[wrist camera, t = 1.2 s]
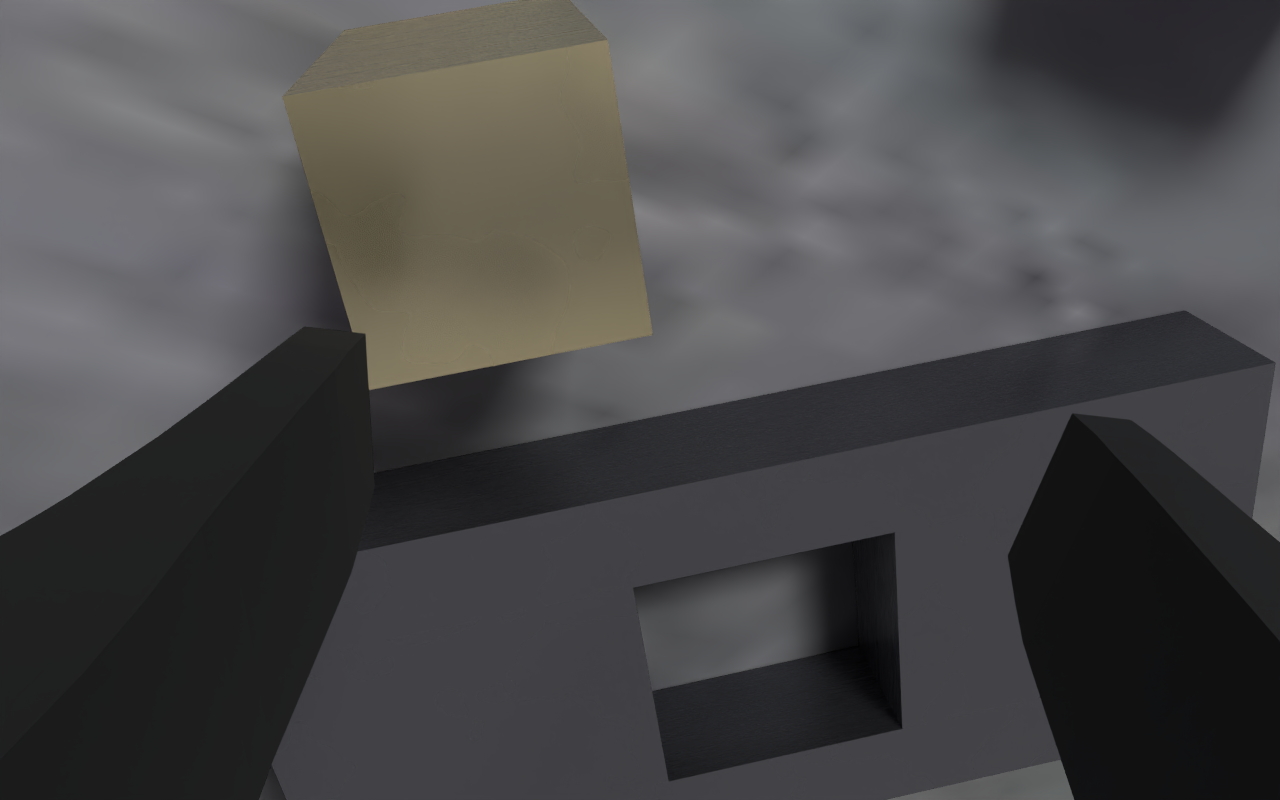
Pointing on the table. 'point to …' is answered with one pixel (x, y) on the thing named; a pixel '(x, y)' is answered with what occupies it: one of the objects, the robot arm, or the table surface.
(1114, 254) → the table surface
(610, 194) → the brass peg
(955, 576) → the dark grey slotted block
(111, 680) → the robot arm
